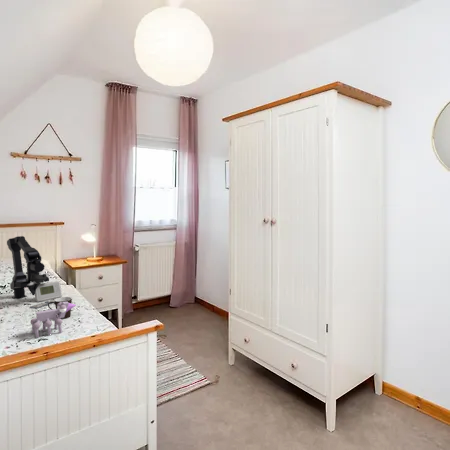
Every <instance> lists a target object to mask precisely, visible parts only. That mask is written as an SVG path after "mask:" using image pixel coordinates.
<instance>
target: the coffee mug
mask: <svg viewBox="0 0 450 450" xmlns="http://www.w3.org/2000/svg"><path fill="white" fill-rule="evenodd" d="M53 300H54V299H53ZM54 301H55V302H50V303H53V304H54V306H55V310H56V309H57V304H58V303H59V302H68V303H71V304H73V302H72V301H73V298H72V297H71V296H62V297H59V298H56V299H55V300H54ZM50 303H47V304H48V305H47V306H48V308H49V310H51V309H52V307H51V306H50V305H51V304H50ZM71 314H72V309H70V310H69V311H67V312H66V313H65V317H64V318H59V319H62V320H65V319H69V318H71ZM57 315H59V313H58V314H57Z"/></svg>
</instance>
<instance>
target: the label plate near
mask: <svg viewBox="0 0 450 450" xmlns="http://www.w3.org/2000/svg"><path fill="white" fill-rule="evenodd" d="M47 306H48V303H45V302H41V303H37V304H34V305H32V306H31V305H30V306H29V308H31V309H36V310H38V309H40V308H41V309H42V308H43V307H47Z"/></svg>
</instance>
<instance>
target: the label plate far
mask: <svg viewBox="0 0 450 450" xmlns="http://www.w3.org/2000/svg"><path fill="white" fill-rule="evenodd" d="M54 300H55V299H52V300H47V301H44V304H48V303H50V302H55V301H54ZM52 304H54V303H50V304H49V305H52Z"/></svg>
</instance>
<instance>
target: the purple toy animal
mask: <svg viewBox="0 0 450 450" xmlns="http://www.w3.org/2000/svg"><path fill="white" fill-rule="evenodd" d="M76 306H77V304H73V303H72V304H71V303H68V302H59V303H58V304H57V309H56V308H51V309H47V310H40V311H36V312H35V313H36V314H35V315H36V318H35V317H34V318H31V320H30V324H31V334H34V335H35V338H36V339H38V338H39V337H40V333H39V329H40V327H41V324H40V323H41V322H42V332H46V330H47V336H51V335H50V334H52V327H51V326H52V325H53V322H52V321H54V327H53V328H54V330H57V329H58V333H59V334H62V333H63V330H62V329H63V327H62V323H63V319H59V318H64V317H65V313H66V312H67V311H69V310H70V309H71V310H72V309H73V308H74V307H76ZM58 313H59V315H57V314H58ZM51 320H52V321H51ZM61 332H62V333H61ZM37 337H38V338H37Z"/></svg>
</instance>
